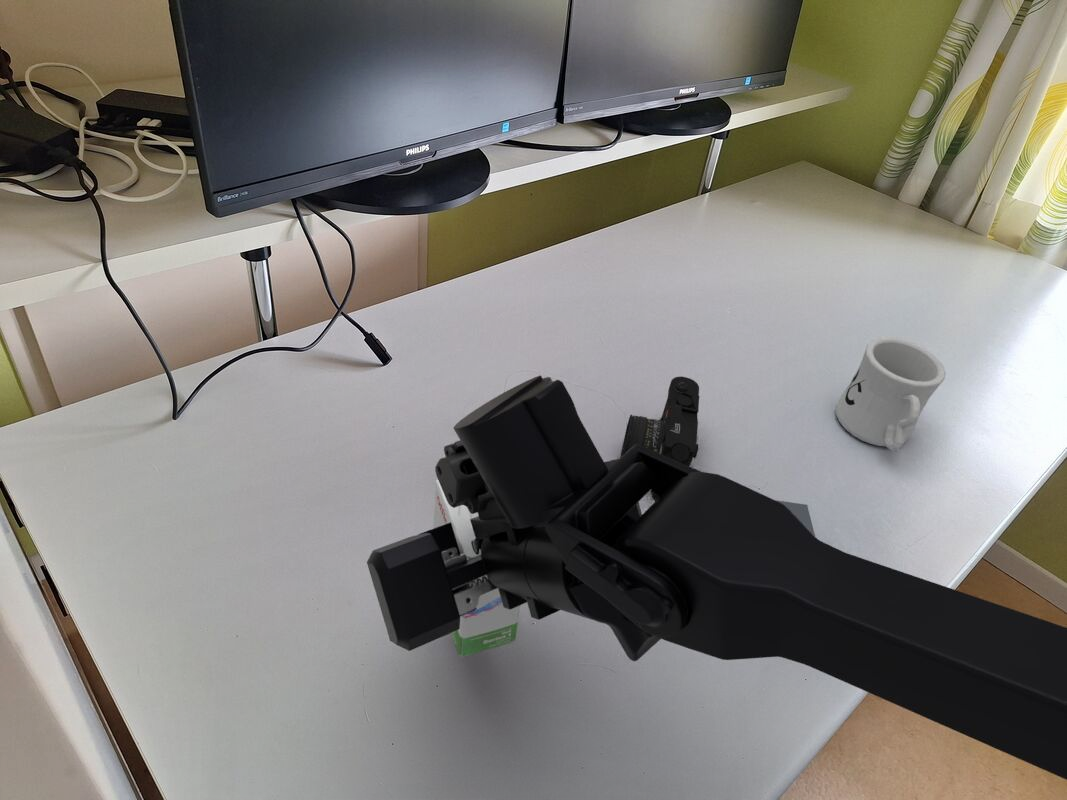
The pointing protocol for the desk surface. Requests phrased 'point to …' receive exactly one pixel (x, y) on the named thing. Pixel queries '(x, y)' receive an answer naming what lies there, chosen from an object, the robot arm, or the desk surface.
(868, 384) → the mug
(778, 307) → the desk surface
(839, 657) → the robot arm
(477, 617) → the ink box
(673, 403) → the camera
